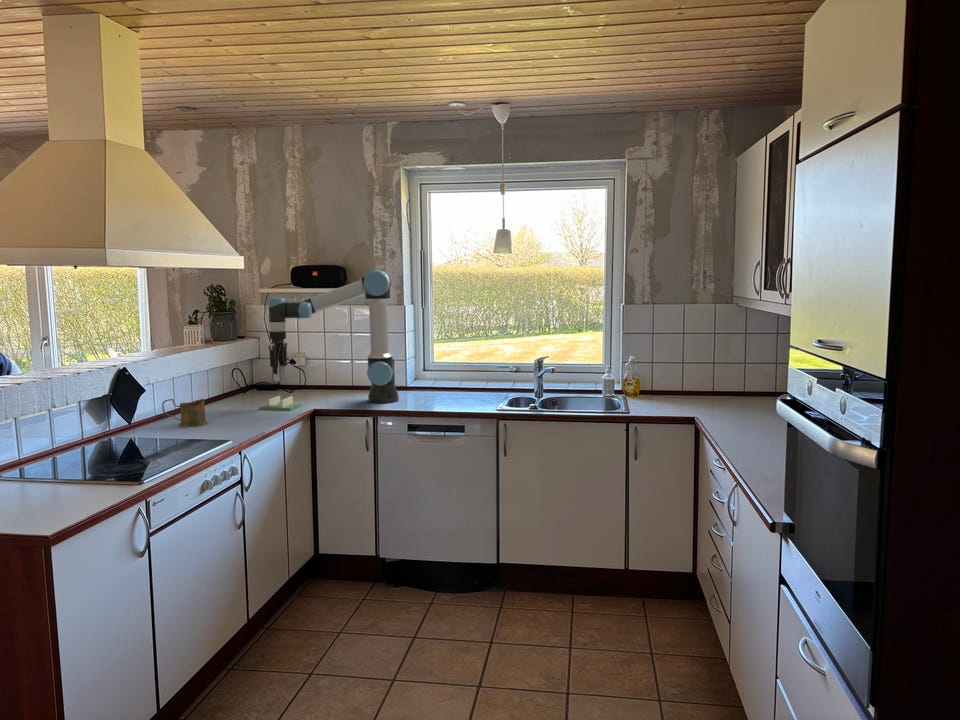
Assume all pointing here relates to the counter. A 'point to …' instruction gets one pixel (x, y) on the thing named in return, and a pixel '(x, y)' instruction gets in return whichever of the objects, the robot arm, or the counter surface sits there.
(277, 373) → the robot arm
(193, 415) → the mug
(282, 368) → the plug
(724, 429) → the counter surface
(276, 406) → the board
